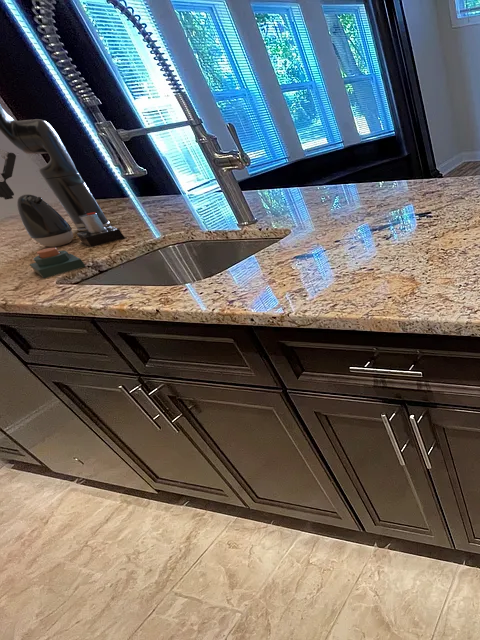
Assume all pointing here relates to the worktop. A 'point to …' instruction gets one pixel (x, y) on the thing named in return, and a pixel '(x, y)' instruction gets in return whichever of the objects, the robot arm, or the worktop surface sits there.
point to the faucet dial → (92, 222)
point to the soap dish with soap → (56, 264)
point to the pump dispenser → (43, 222)
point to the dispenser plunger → (48, 252)
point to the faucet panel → (100, 236)
